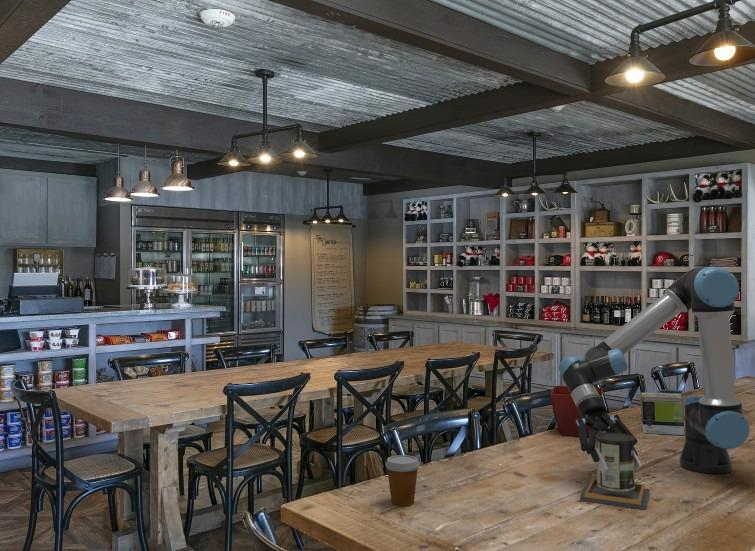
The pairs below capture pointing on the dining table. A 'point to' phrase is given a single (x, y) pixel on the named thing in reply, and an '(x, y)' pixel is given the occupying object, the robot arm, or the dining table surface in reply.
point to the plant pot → (567, 410)
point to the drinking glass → (671, 392)
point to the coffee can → (616, 462)
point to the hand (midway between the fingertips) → (622, 469)
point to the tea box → (662, 413)
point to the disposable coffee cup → (402, 478)
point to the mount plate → (616, 496)
